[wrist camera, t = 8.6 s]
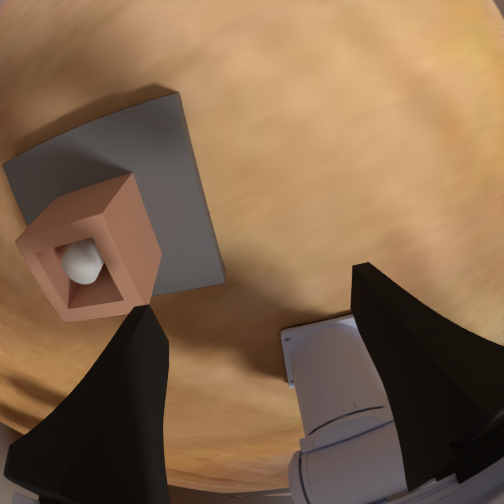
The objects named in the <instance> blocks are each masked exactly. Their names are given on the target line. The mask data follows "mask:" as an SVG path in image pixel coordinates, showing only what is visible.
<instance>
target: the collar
mask: <svg viewBox="0 0 504 504" xmlns="http://www.w3.org/2000/svg"><path fill="white" fill-rule="evenodd" d="M91 237H93V239H94V241H95V244H96V246H97V248H98V250H99V252H100V254H101V256H102V258H103V260H104V264H103V266H102V268H101V270H100V272H99V274H98V276H97V278H96V280H95V281H94V282H92V283H90V284H80V283H77V282H75V281H73V280H72V279H70V278H69V277H68V276H67V275H66V273H65V272H64V270H63V267H62V258H63V256H64V255H65V253H66V252H67V250H68V249H69V247H70V246H71V244H72V243H73V242H76V241H80V240H83V239H87V238H91ZM15 243H16V245H17V247H18V248H19V250H20V252H21V254H22V256H23V258H24V259H25V261H26V263H27V265H28V267H29V268H30V270H31V272H32V274H33V275H34V277H35V279H36V280H37V282H38V284H39V285H40V287H41V288H42V290H43V292H44V293H45V295H46V296H47V298H48V299H49V301H50V302H51V304H52V305H53V307H54V308H55V310H56V311H57V313H58V314H59V316H60V317H61V319H62V320H63V322H64V323H66V322H74V321H82V320H90V319H97V318H105V317H112V316H119V315H126V314H129V313H130V311H131V310H132V309H133V307H135V306H141V305H147V304H150V300H151V296H152V291H153V287H154V283H155V279H156V275H157V271H158V268H159V264H160V260H161V256H162V252H161V250H160V247H159V245H158V242H157V239H156V237H155V234H154V231H153V229H152V226H151V223H150V220H149V218H148V215H147V212H146V209H145V207H144V204H143V201H142V198H141V195H140V192H139V189H138V186H137V183H136V180H135V177H134V174H133V173H129V174H126V175H122V176H119V177H116V178H113V179H109V180H106V181H103V182H100V183H97V184H94V185H91V186H88V187H85V188H82V189H79V190H76V191H74V192H71V193H68V194H65V195H63V196H60V197H57V198H56V199H55V200H54V201H53V202H52V203H51V204H50V205H49V206H48V207H47V208H46V209H45V210H44V211H43V212H42V213H41V214H40V215H39V216H38V217H37V218H36V219H35V220H34V221H33V222H32V223H31V224H30V225H29V226H28V227H27V228H26V230H25V231H24V232H23V233H22V234H21V235H20V236H19V237H18V238H17V240H16V241H15Z"/></svg>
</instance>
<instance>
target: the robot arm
mask: <svg viewBox="0 0 504 504" xmlns="http://www.w3.org/2000/svg"><path fill="white" fill-rule="evenodd" d="M350 308H351V311H352V314H351V315H347V316H343V317H339V318H334V319H330V320H326V321H321V322H317V323H312V324H308V325H303V326H298V327H294V328H289V329H284V330H283V331H281V333H280V335H281V341H282V347H283V353H284V360H285V366H286V372H287V378H288V384H289V387H290V388H295V390H296V394H297V399H298V404H299V408H300V413H301V418H302V423H303V428H304V433H305V438H302V439H300V440H299V442H300V447H301V450H299V451H296V452H295V453H294V454H293V457H292V459H291V461H290V463H289V467H288V481H289V487H290V491H291V495H292V498H293V500H294V503H295V504H504V346H502V345H499V344H497V343H494V342H492V341H489V340H487V339H485V338H483V337H480V336H478V335H476V334H474V333H472V332H470V331H468V330H466V329H464V328H462V327H460V326H459V325H457V324H455V323H453V322H452V321H450V320H448V319H447V318H445V317H443V316H442V315H440V314H438V313H437V312H435V311H434V310H432V309H431V308H429V307H428V306H426V305H425V304H423V303H422V302H421V301H419V300H418V299H416V298H415V297H414V296H412V295H411V294H409V293H408V292H407V291H405V290H404V289H403V288H401V287H400V286H399V285H398V284H396V283H395V282H394V281H392V280H391V279H390V278H388V277H387V276H386V275H385V274H383V273H382V272H381V271H380V270H378V269H377V268H376V267H374V266H373V265H372V264H370V263H369V262H367V263H362V264H358V265H353V266H352V289H351V306H350ZM168 371H169V341H168V339H167V337H166V335H165V333H164V331H163V330H162V328H161V326H160V324H159V322H158V320H157V318H156V317H155V315H154V313H153V311H152V309H151V307H150V305H149V304H147V305H141V306H135V307H133V309H132V310H131V311H130V313H129V314H128V316H127V317H126V319H125V320H124V321H123V323H122V324H121V326H120V327H119V329H118V330H117V332H116V333H115V335H114V336H113V338H112V339H111V341H110V342H109V343H108V345H107V346H106V348H105V349H104V351H103V352H102V354H101V355H100V356H99V358H98V359H97V360H96V362H95V363H94V364H93V366H92V367H91V369H90V370H89V371H88V373H87V374H86V375H85V376H84V378H83V379H82V380H81V381H80V383H79V384H78V385H77V386H76V387H75V388H74V390H73V391H72V392H71V393H70V394H69V395H68V396H67V397H66V398H65V399H64V400H63V401H62V402H61V403H60V404H59V405H58V406H57V407H56V409H55V410H54V411H53V412H52V413H50V414H49V415H48V416H47V417H46V418H45V419H44V420H43V421H42V422H40V423H39V424H38V425H37V426H36V427H34V428H33V429H32V430H31V431H29V432H28V433H27V434H25V435H24V436H22V437H21V438H20V439H18V440H17V441H15V442H14V443H13V444H11V445H10V446H9V450H8V454H7V459H6V464H5V469H4V476H5V477H6V478H7V479H8V480H10V481H12V482H14V483H15V484H17V485H19V486H21V487H23V488H25V489H27V490H29V491H31V492H33V493H35V494H37V495H40V496H41V498H40V501H37V500H35V499H32V498H30V497H27V496H25V495H22V494H20V493H17V492H13V497H12V503H11V504H171V502H170V497H169V491H168V486H167V477H166V470H165V458H164V443H163V417H164V407H165V398H166V389H167V380H168Z"/></svg>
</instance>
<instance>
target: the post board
mask: <svg viewBox="0 0 504 504" xmlns="http://www.w3.org/2000/svg"><path fill="white" fill-rule="evenodd" d="M2 165H3V168H4V171H5V173H6V176H7V179H8V181H9V184H10V186H11V189H12V191H13V194H14V196H15V198H16V201H17V203H18V205H19V208H20V210H21V212H22V214H23V217H24V219H25V221H26V223H27V225H28V226H29V225H30V224H31V223H32V222H33V221H34V220H35V219H36V218H37V217H38V216H39V215H40V214H41V213H42V212H43V211H44V210H45V209H46V208H47V207H48V206H49V205H50V204H51V203H52V202H53V201H54V200H55V199H56V198H57V197H60V196H63V195H65V194H68V193H71V192H74V191H76V190H79V189H82V188H85V187H88V186H91V185H94V184H97V183H100V182H103V181H106V180H109V179H113V178H116V177H119V176H122V175H126V174H129V173H133V174H134V177H135V180H136V183H137V186H138V189H139V192H140V195H141V198H142V201H143V204H144V207H145V209H146V212H147V215H148V218H149V220H150V223H151V226H152V229H153V231H154V234H155V237H156V239H157V242H158V245H159V247H160V250H161V252H162V256H161V260H160V264H159V268H158V271H157V275H156V279H155V283H154V287H153V291H152V296H157V295H162V294H168V293H174V292H180V291H185V290H191V289H197V288H202V287H208V286H213V285H219V284H224V283H225V268H224V265H223V261H222V258H221V254H220V251H219V247H218V243H217V240H216V236H215V232H214V229H213V225H212V221H211V217H210V214H209V210H208V206H207V202H206V199H205V195H204V191H203V187H202V183H201V179H200V176H199V172H198V168H197V164H196V160H195V156H194V152H193V148H192V144H191V140H190V136H189V132H188V127H187V123H186V119H185V115H184V111H183V107H182V102H181V98H180V94H179V92H178V93H175V94H171V95H167V96H164V97H160V98H157V99H153V100H150V101H147V102H143V103H140V104H137V105H134V106H131V107H128V108H125V109H122V110H119V111H117V112H114V113H111V114H108V115H106V116H103V117H100V118H98V119H95V120H92V121H90V122H87V123H85V124H83V125H80V126H78V127H75V128H73V129H71V130H68V131H66V132H64V133H62V134H59V135H57V136H55V137H53V138H51V139H49V140H47V141H45V142H43V143H40V144H38V145H36V146H34V147H33V148H31V149H29V150H27V151H25V152H23V153H21V154H19V155H17V156H15V157H14V158H12V159H10V160H9V161H7V162H6V163H4V164H2ZM103 264H104V260H103V258H102V256H101V254H100V252H99V250H98V248H97V246H96V244H95V241H94V239H93V237H91V238H87V239H83V240H80V241H76V242H73V243H72V244H71V246H70V247H69V249H68V250H67V252H66V253H65V255H64V256H63V258H62V267H63V270H64V272H65V273H66V275H67V276H68V277H69V278H70V279H72V280H73V281H75V282H77V283H80V284H90V283H92V282H94V281H95V280H96V278H97V276H98V274H99V272H100V270H101V268H102V266H103Z"/></svg>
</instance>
